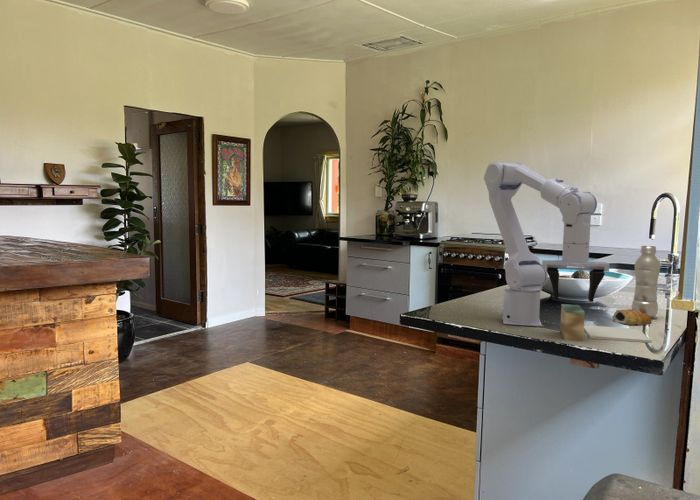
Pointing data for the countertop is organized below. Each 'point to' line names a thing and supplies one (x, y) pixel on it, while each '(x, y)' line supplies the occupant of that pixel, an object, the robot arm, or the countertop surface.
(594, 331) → the mat
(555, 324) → the countertop surface
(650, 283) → the plastic bottle
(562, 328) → the tan green block
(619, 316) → the pastry
